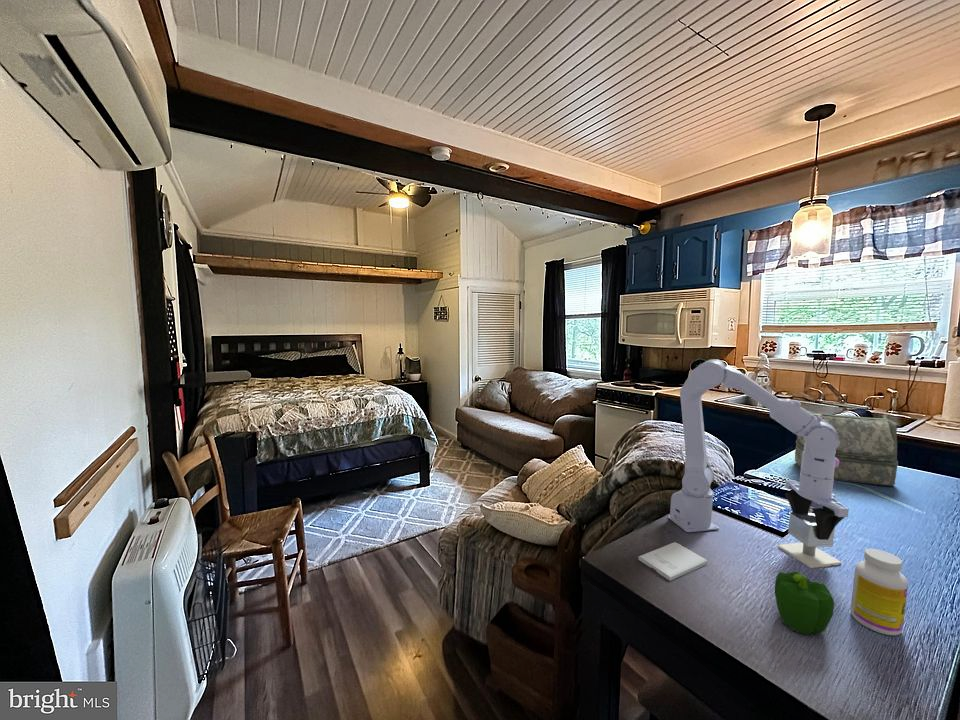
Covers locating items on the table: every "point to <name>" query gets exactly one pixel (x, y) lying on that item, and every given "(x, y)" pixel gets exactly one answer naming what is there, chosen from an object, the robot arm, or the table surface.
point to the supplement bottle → (879, 592)
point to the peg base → (809, 555)
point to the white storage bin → (807, 530)
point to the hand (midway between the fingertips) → (810, 531)
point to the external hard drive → (673, 560)
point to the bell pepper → (803, 603)
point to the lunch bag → (861, 449)
